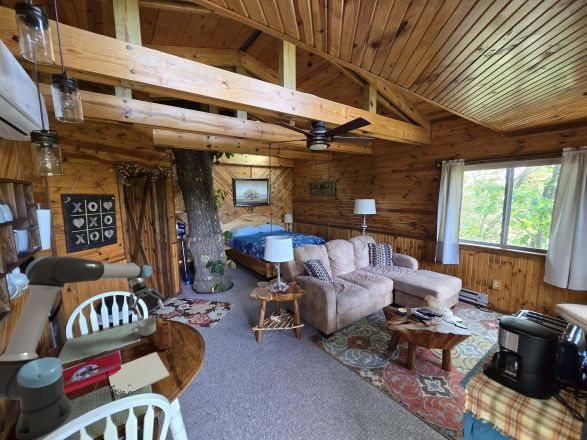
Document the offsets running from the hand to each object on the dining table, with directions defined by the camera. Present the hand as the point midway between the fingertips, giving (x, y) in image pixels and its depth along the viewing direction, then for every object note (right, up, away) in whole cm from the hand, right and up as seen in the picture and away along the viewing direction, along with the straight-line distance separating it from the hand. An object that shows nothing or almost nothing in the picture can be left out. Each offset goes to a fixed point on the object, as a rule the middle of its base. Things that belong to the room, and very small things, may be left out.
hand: (152, 313), depth 147 cm
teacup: (-9, -16, +7) cm, 20 cm away
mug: (+9, -17, -4) cm, 20 cm away
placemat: (+9, -19, -27) cm, 34 cm away
